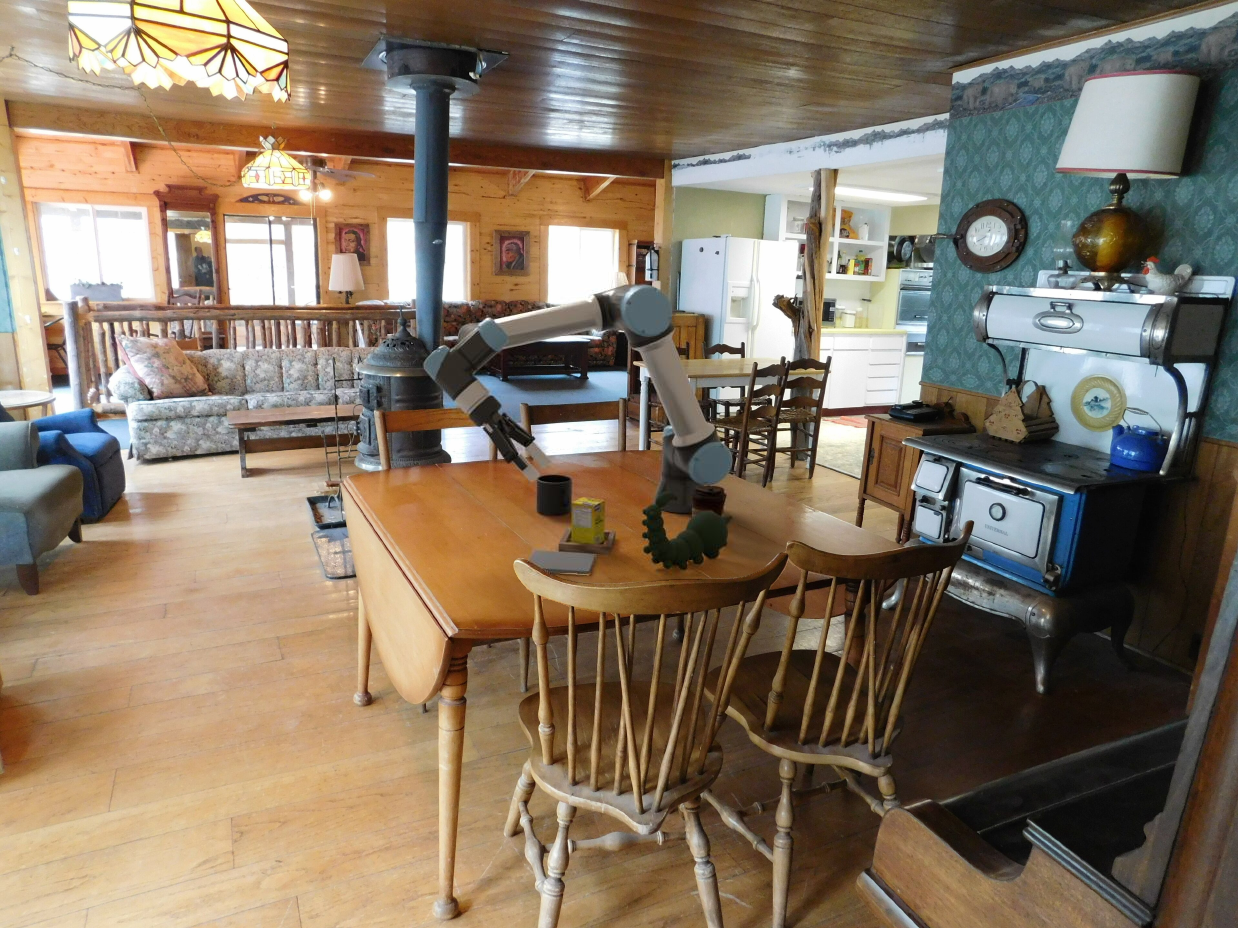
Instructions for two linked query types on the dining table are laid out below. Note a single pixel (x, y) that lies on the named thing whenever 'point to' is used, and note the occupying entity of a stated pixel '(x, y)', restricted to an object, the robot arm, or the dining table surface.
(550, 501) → the mug
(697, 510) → the coffee cup
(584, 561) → the mat
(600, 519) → the supplement box
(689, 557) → the toy figurine
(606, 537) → the frame
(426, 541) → the dining table surface
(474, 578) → the dining table surface
